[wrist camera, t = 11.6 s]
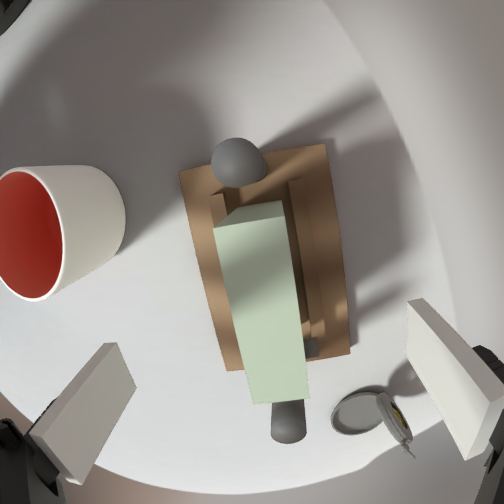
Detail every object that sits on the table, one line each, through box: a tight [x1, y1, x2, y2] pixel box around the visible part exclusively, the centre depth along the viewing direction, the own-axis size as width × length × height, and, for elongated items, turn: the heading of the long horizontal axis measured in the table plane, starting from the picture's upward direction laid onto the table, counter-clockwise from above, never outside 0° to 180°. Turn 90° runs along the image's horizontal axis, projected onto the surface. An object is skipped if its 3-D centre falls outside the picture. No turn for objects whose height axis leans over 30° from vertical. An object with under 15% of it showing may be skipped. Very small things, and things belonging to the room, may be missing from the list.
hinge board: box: [178, 138, 350, 444], centre depth 21 cm, size 19×12×11 cm, turn 11°
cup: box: [0, 165, 126, 301], centre depth 22 cm, size 10×10×10 cm
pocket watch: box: [331, 392, 415, 459], centre depth 25 cm, size 8×8×10 cm
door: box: [213, 200, 319, 404], centre depth 21 cm, size 11×4×10 cm, turn 10°
